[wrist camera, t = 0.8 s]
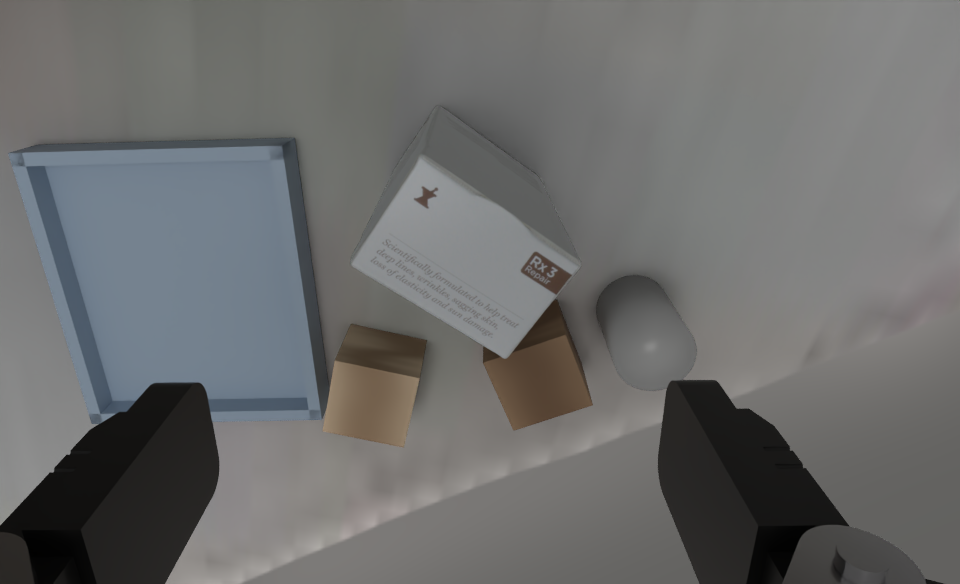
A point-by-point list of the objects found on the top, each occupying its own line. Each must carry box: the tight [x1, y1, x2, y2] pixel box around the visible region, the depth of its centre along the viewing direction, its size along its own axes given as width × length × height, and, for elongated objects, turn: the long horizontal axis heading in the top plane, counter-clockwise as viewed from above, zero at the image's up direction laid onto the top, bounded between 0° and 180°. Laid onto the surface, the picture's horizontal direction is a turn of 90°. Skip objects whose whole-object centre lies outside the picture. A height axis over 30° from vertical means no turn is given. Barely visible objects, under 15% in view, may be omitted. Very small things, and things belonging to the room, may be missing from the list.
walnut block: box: [483, 300, 593, 430], centre depth 32 cm, size 4×4×4 cm
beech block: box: [323, 324, 427, 447], centre depth 33 cm, size 4×4×4 cm
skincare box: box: [350, 106, 581, 359], centre depth 25 cm, size 6×4×12 cm
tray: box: [8, 138, 329, 424], centre depth 32 cm, size 12×14×2 cm
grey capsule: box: [596, 275, 697, 391], centre depth 31 cm, size 4×4×5 cm
